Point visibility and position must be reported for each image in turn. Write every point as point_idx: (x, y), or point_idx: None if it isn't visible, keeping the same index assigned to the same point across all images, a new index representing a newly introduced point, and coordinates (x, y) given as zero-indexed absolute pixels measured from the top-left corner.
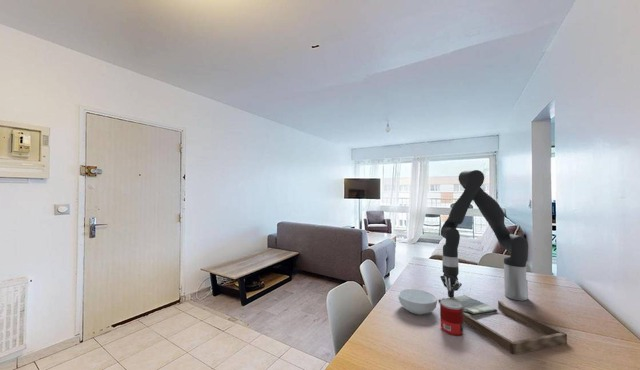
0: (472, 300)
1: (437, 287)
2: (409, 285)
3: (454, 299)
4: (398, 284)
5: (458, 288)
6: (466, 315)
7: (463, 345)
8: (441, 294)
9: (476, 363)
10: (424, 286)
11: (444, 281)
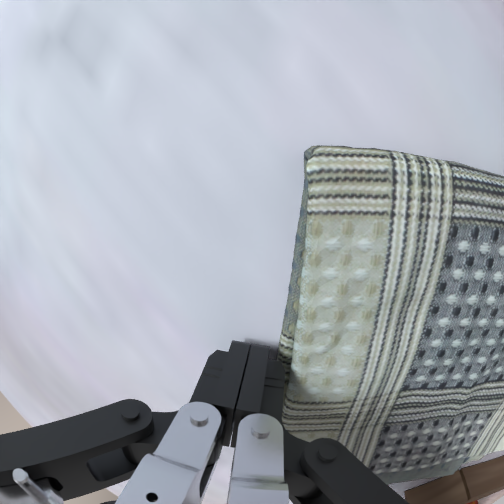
0: (482, 258)
1: (10, 232)
2: (10, 378)
3: (341, 415)
4: (12, 404)
5: (383, 491)
6: (490, 494)
7: (479, 501)
8: (140, 351)
9: (501, 496)
10: (4, 316)
11: (92, 488)
